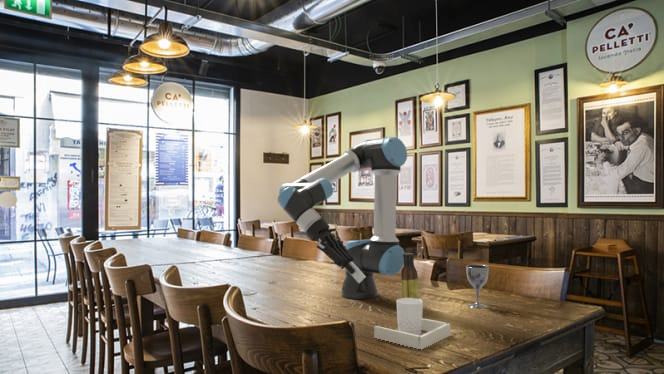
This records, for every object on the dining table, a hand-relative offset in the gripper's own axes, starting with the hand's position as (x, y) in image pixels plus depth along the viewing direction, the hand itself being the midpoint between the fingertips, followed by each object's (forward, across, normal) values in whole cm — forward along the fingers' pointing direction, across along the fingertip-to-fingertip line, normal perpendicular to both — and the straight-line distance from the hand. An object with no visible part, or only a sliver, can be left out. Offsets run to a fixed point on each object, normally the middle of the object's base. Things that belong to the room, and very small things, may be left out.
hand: (362, 279), depth 139 cm
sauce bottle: (+16, -34, -8) cm, 38 cm away
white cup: (+21, -1, -1) cm, 21 cm away
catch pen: (+22, +1, 0) cm, 22 cm away
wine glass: (+32, -46, +7) cm, 56 cm away
